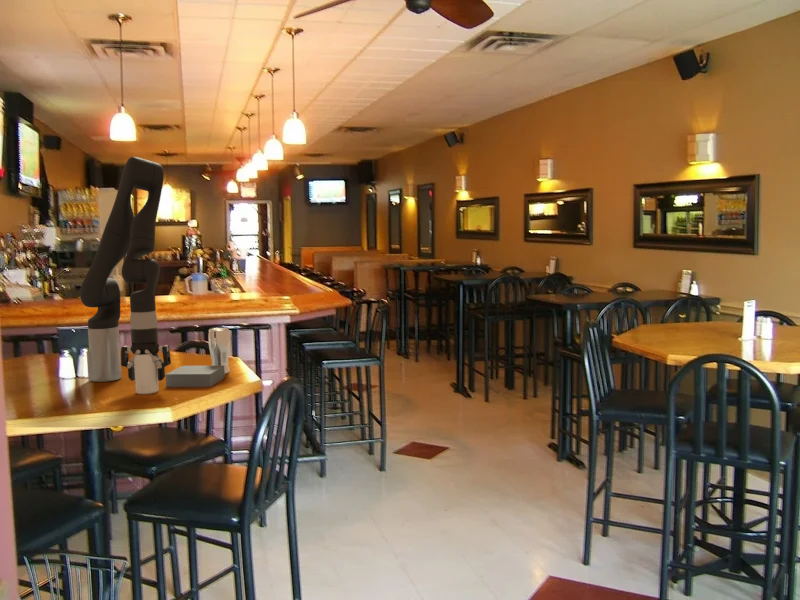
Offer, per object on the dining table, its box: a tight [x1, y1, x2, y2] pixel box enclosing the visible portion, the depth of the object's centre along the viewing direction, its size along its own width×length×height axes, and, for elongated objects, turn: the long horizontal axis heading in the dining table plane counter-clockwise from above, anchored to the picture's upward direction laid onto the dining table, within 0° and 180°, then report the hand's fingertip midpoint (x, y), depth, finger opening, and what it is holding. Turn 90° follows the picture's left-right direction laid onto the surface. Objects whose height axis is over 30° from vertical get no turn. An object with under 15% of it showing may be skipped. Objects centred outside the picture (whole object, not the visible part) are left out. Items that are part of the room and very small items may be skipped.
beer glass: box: [208, 327, 231, 375], centre depth 239 cm, size 7×7×15 cm
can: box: [134, 354, 159, 395], centre depth 212 cm, size 6×6×12 cm
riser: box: [165, 365, 226, 388], centre depth 225 cm, size 14×14×4 cm
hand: (147, 380), depth 212 cm, fingers open, 8 cm apart
